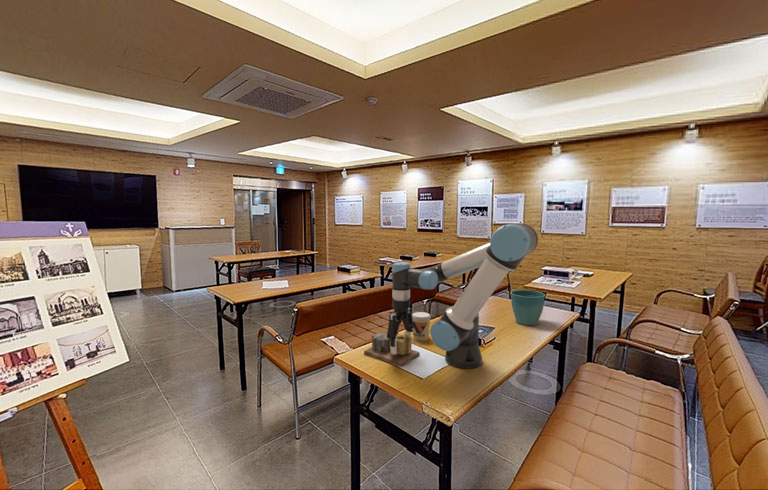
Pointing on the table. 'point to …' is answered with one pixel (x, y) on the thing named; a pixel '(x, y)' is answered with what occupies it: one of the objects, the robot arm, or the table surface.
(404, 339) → the brass gear
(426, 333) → the coffee cup
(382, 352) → the gear board
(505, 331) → the table surface
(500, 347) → the table surface
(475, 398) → the table surface
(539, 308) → the flower pot
